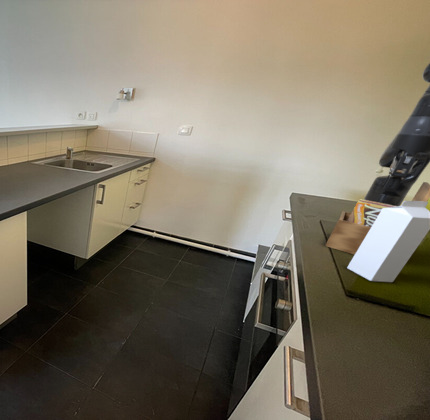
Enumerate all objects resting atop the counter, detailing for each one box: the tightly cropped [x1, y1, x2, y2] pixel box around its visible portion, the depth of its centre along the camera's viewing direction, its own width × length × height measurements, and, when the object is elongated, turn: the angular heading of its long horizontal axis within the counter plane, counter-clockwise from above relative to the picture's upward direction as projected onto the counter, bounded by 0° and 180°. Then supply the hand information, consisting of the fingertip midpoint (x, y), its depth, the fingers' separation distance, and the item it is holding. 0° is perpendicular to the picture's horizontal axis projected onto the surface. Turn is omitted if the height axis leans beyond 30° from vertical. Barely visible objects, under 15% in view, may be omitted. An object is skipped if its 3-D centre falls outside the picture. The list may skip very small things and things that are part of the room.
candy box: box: [348, 198, 397, 227], centre depth 80 cm, size 9×4×15 cm, turn 34°
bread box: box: [325, 210, 371, 256], centre depth 81 cm, size 13×15×10 cm
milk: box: [346, 200, 430, 283], centre depth 64 cm, size 6×6×22 cm
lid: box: [411, 181, 430, 202], centre depth 70 cm, size 13×15×5 cm
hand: (388, 188), depth 75 cm, fingers open, 8 cm apart
